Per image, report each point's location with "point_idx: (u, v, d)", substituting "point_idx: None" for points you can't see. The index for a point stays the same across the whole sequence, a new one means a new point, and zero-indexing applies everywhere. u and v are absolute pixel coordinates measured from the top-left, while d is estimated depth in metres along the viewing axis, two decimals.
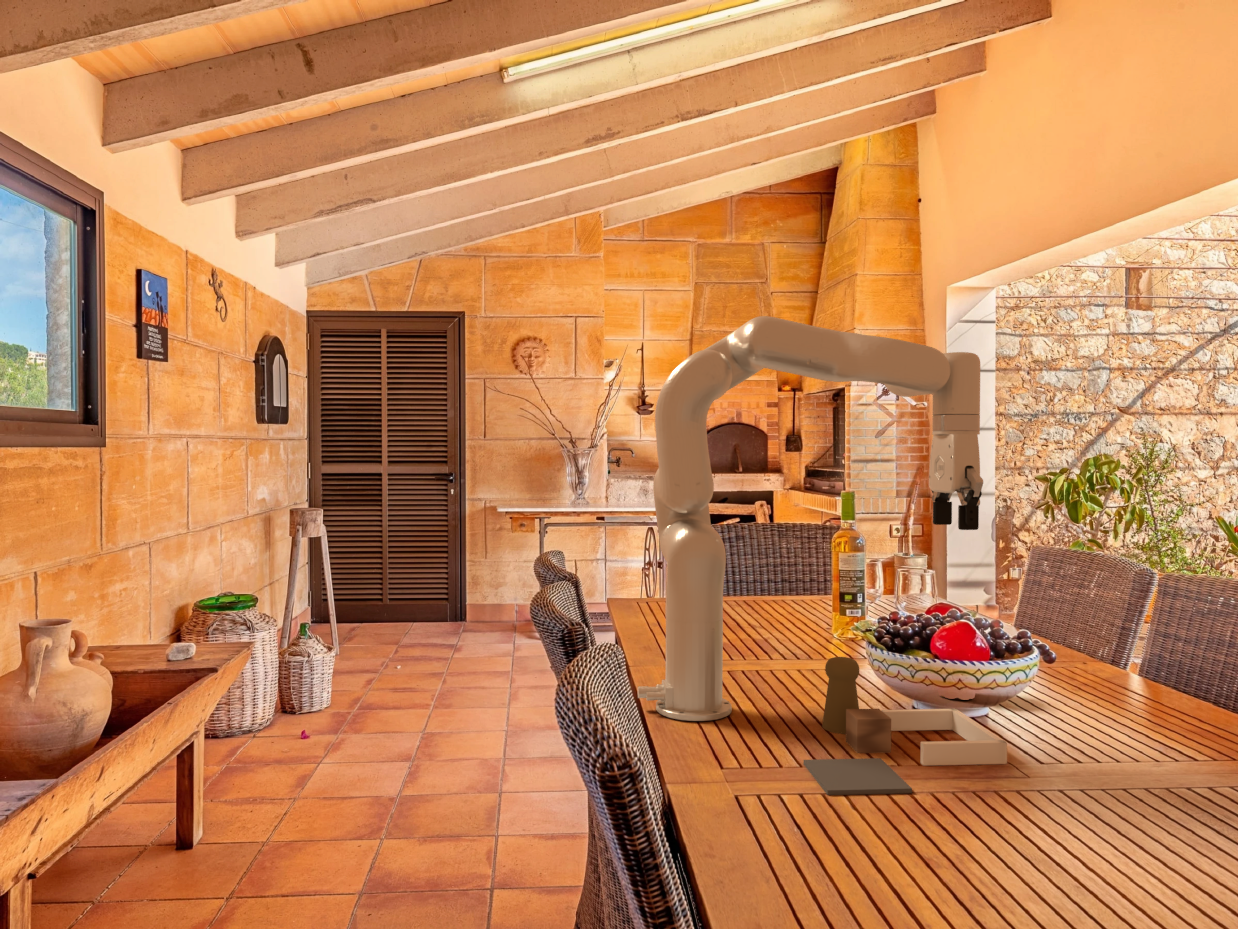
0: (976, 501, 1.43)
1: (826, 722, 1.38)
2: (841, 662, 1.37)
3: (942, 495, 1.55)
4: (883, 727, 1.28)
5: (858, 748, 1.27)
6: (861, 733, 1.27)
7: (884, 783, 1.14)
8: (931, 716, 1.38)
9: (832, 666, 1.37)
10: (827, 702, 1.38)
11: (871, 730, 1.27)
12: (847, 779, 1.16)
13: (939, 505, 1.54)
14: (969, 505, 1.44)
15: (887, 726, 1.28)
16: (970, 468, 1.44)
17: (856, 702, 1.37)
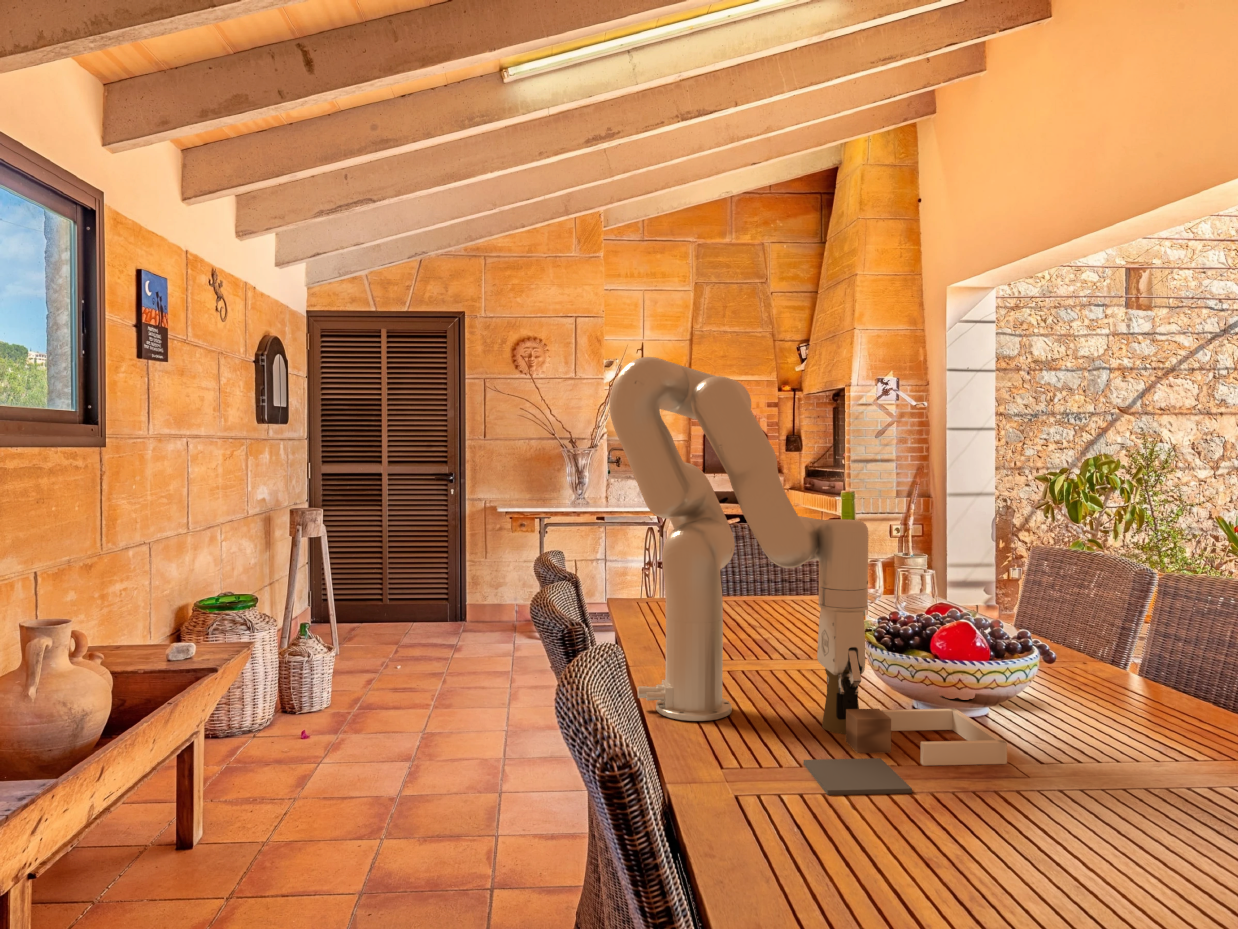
0: (854, 691, 1.35)
1: (826, 722, 1.38)
2: None
3: None
4: (883, 727, 1.28)
5: (858, 748, 1.27)
6: (861, 733, 1.27)
7: (884, 783, 1.14)
8: (931, 716, 1.38)
9: None
10: (827, 702, 1.38)
11: (871, 730, 1.27)
12: (847, 779, 1.16)
13: None
14: (847, 694, 1.35)
15: (887, 726, 1.28)
16: (853, 655, 1.34)
17: None
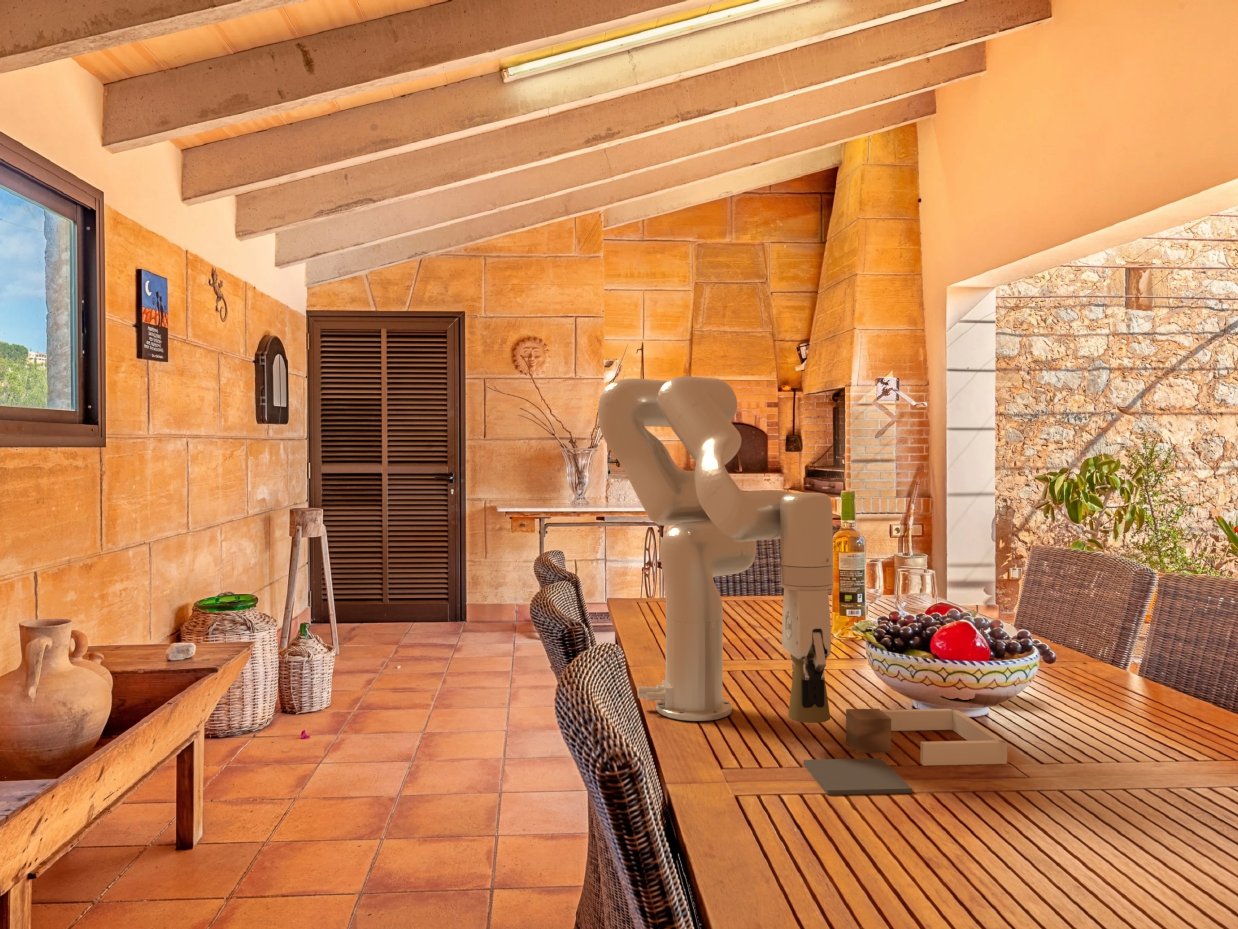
0: (819, 676, 1.25)
1: (792, 711, 1.28)
2: None
3: None
4: (883, 727, 1.28)
5: (858, 748, 1.27)
6: (861, 733, 1.27)
7: (884, 783, 1.14)
8: (931, 716, 1.38)
9: None
10: (793, 689, 1.28)
11: (871, 730, 1.27)
12: (847, 779, 1.16)
13: None
14: (812, 680, 1.25)
15: (887, 726, 1.28)
16: (817, 637, 1.24)
17: (824, 689, 1.27)
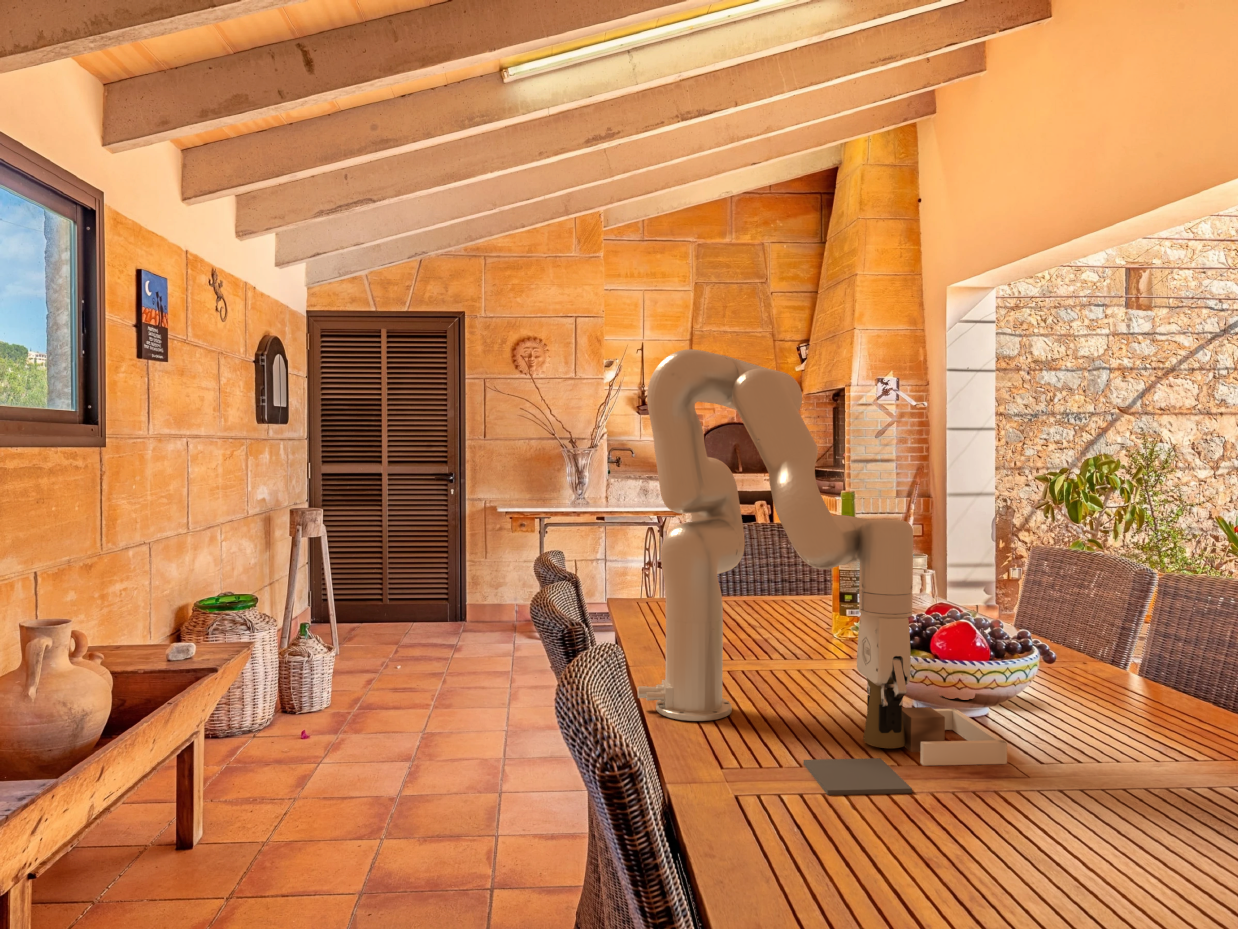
0: (898, 703, 1.26)
1: (868, 735, 1.29)
2: None
3: None
4: (937, 725, 1.28)
5: (912, 746, 1.28)
6: (915, 731, 1.28)
7: (884, 783, 1.14)
8: None
9: None
10: (869, 714, 1.30)
11: (925, 729, 1.28)
12: (847, 779, 1.16)
13: None
14: (890, 706, 1.27)
15: (940, 724, 1.28)
16: (898, 665, 1.25)
17: None
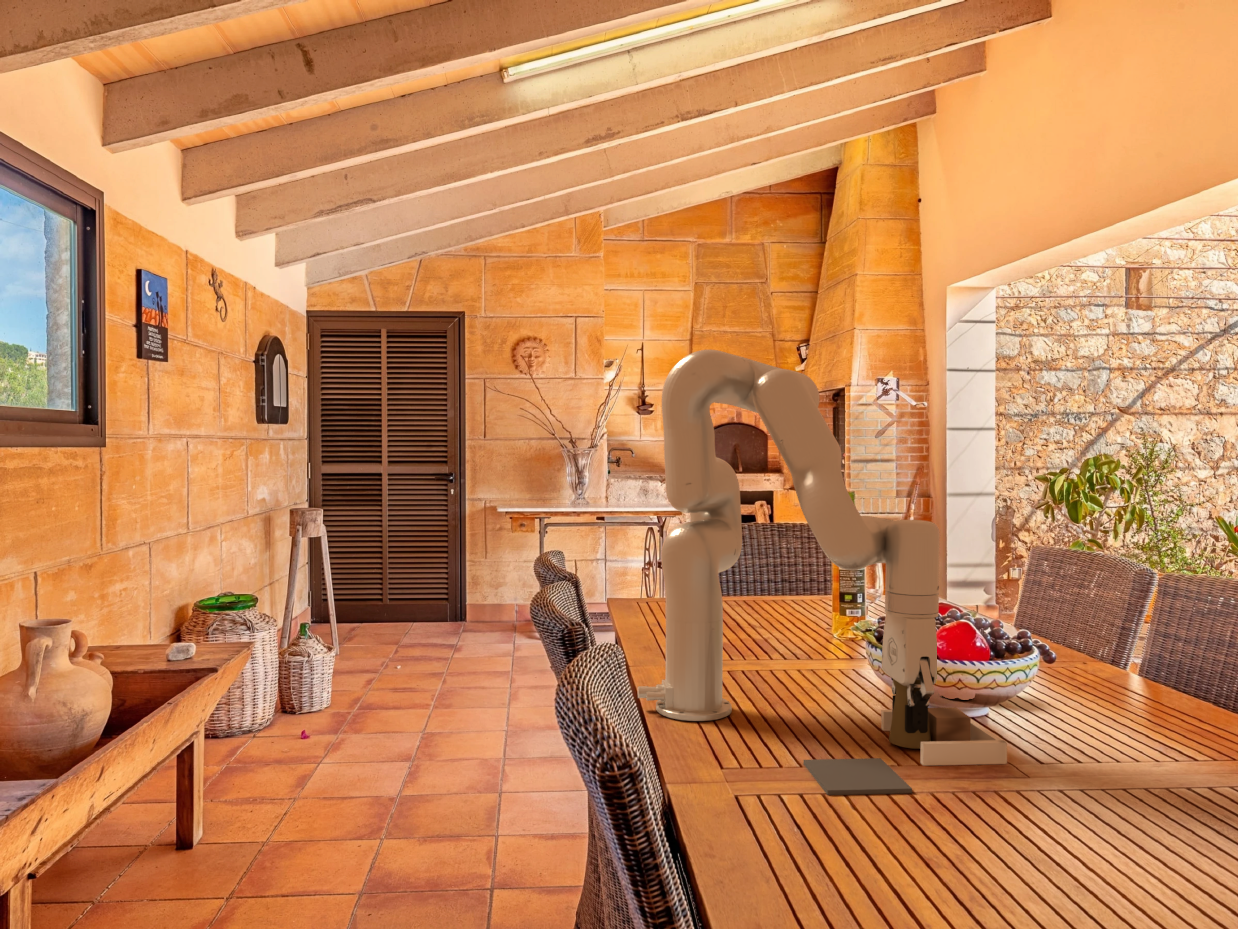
0: (924, 703, 1.26)
1: (894, 735, 1.30)
2: None
3: None
4: (962, 726, 1.28)
5: None
6: (940, 731, 1.28)
7: (884, 783, 1.14)
8: None
9: None
10: (895, 714, 1.30)
11: (950, 729, 1.28)
12: (847, 779, 1.16)
13: None
14: (917, 706, 1.27)
15: (966, 725, 1.28)
16: (925, 665, 1.25)
17: None
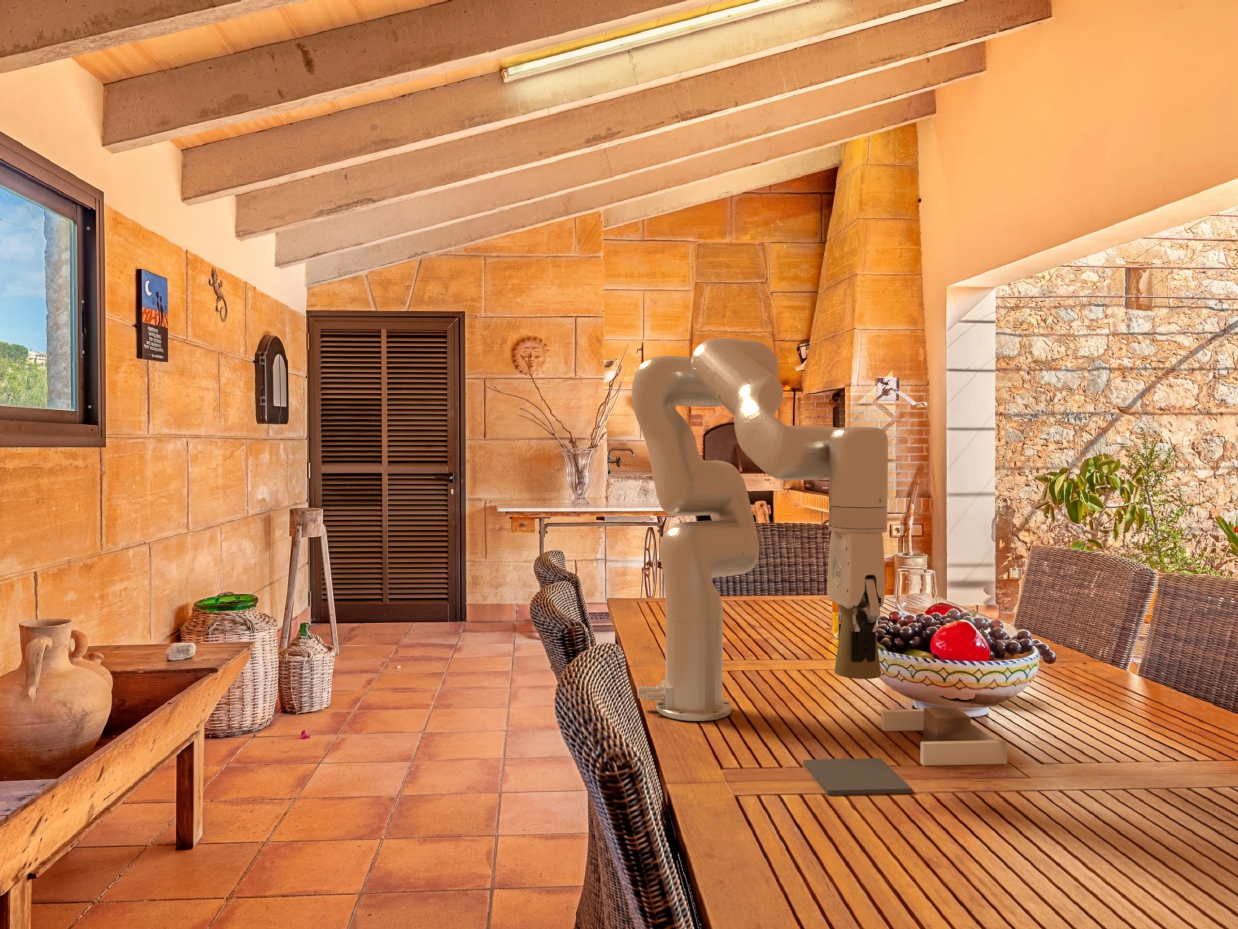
0: (871, 628, 1.13)
1: (839, 666, 1.16)
2: None
3: None
4: (963, 726, 1.28)
5: None
6: (940, 731, 1.28)
7: (884, 783, 1.14)
8: None
9: None
10: (840, 643, 1.17)
11: (951, 729, 1.28)
12: (847, 779, 1.16)
13: None
14: (863, 632, 1.14)
15: (966, 725, 1.28)
16: (870, 584, 1.12)
17: None
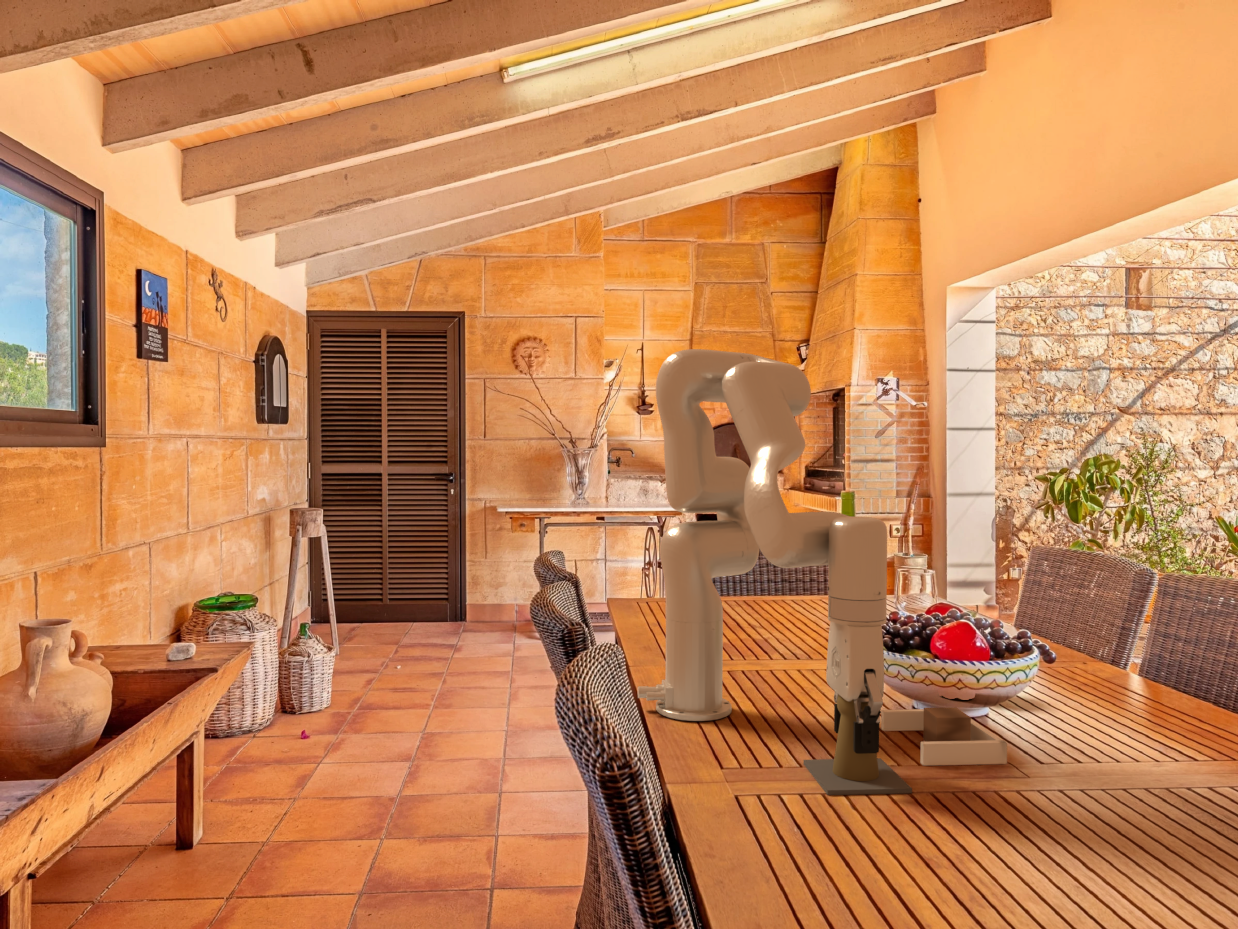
0: (875, 720, 1.12)
1: (837, 766, 1.17)
2: None
3: None
4: (963, 726, 1.28)
5: None
6: (940, 731, 1.28)
7: (884, 783, 1.14)
8: None
9: (845, 701, 1.16)
10: (839, 743, 1.17)
11: (951, 729, 1.28)
12: (847, 779, 1.16)
13: None
14: (866, 724, 1.13)
15: (966, 725, 1.28)
16: (870, 675, 1.12)
17: None
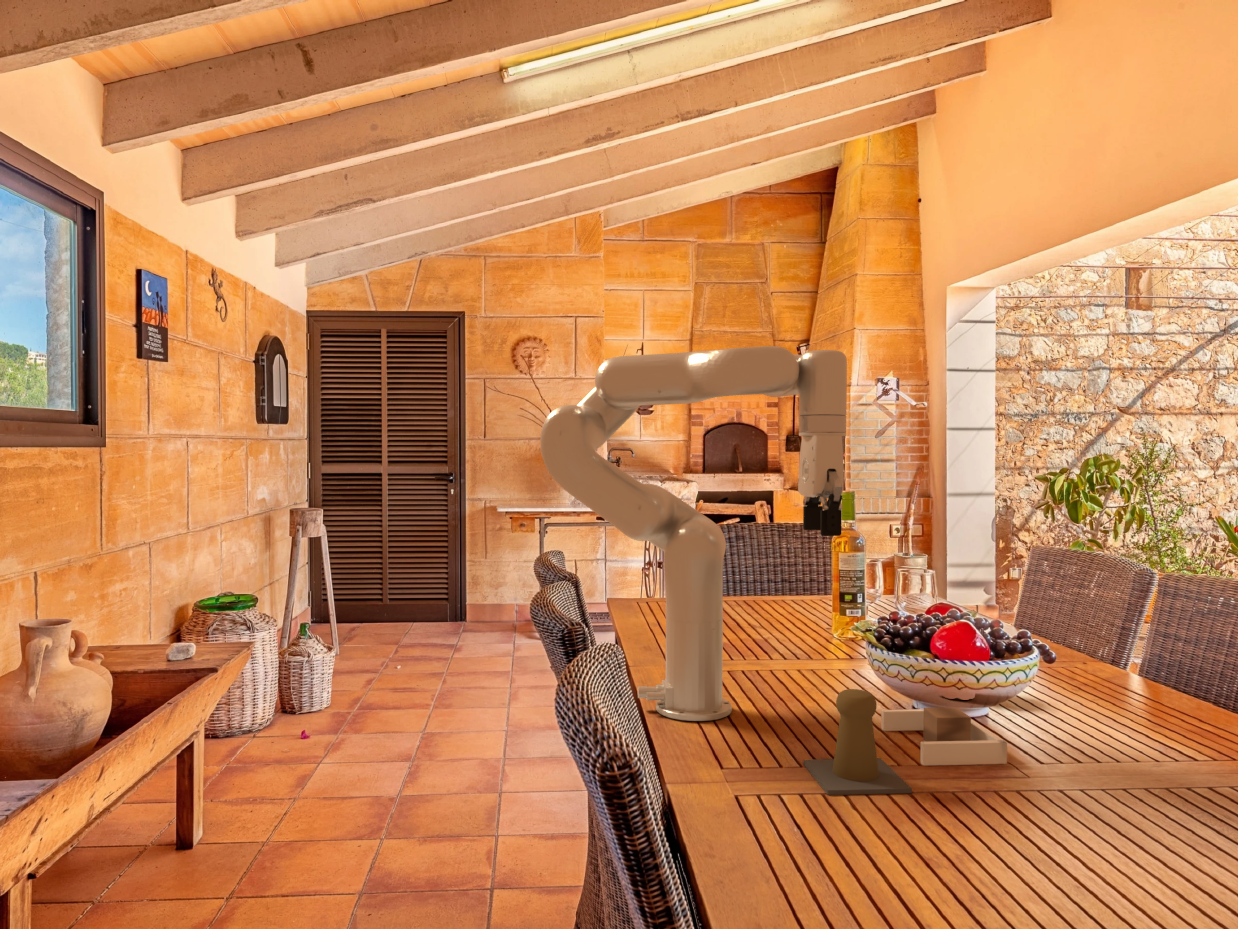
0: (837, 506, 1.37)
1: (837, 766, 1.17)
2: (856, 696, 1.16)
3: (812, 500, 1.48)
4: (963, 726, 1.28)
5: None
6: (941, 731, 1.28)
7: (884, 783, 1.14)
8: None
9: (845, 701, 1.16)
10: (838, 743, 1.17)
11: (951, 729, 1.28)
12: None
13: (809, 510, 1.48)
14: (831, 510, 1.37)
15: (966, 725, 1.28)
16: (832, 471, 1.38)
17: (873, 743, 1.16)
